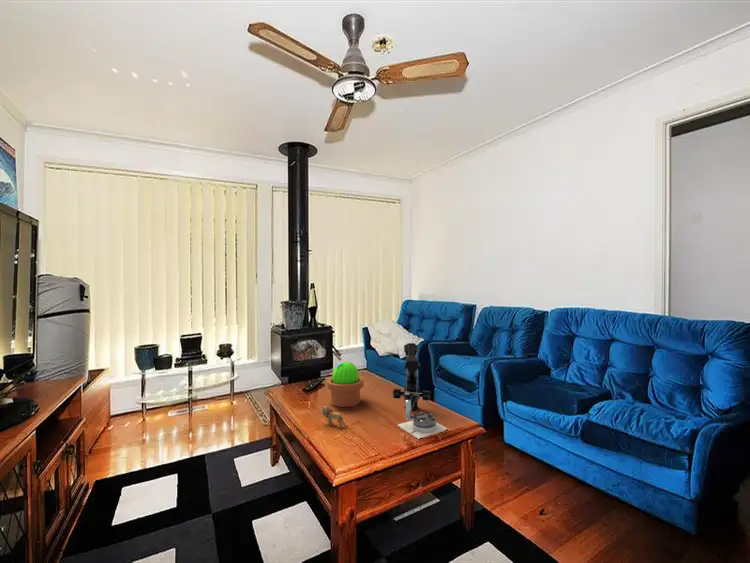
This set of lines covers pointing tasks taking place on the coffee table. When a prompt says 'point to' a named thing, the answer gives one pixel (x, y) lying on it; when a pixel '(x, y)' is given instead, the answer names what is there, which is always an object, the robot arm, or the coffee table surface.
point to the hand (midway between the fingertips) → (410, 410)
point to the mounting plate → (418, 434)
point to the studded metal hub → (420, 417)
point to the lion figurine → (332, 415)
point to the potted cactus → (345, 385)
